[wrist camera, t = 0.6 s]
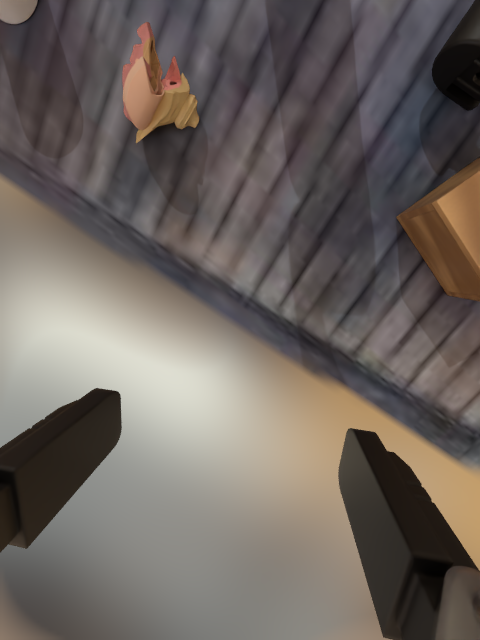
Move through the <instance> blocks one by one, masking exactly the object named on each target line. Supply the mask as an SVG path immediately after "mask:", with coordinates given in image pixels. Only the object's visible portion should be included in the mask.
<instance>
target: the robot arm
mask: <svg viewBox="0 0 480 640" xmlns="http://www.w3.org/2000/svg"><path fill="white" fill-rule="evenodd" d="M121 428H122V427H121V398H120V394H119V392H117V391H112V390H105V389H99V388H96V389H94V390H92V391H90V392H89V393H88V394H86V395H85V396H83V397H82V398H81V399H79V400H76V401H74V402H72V403H69V404H67V405H65V406H62V407H60V408H58V409H57V410H55V411H54V412H53V413H51V414H50V415H48V416H47V417H45V419H44V420H41V421H39V422H38V423H36V424H35V425H33V426H32V428H31V429H30V428H29V429H27V430H26V431H25V432H23V433H21V434H20V435H18V436H17V437H16V438H14V439H13V440H11V441H10V442H8V443H7V444H5V445H4V446H2V447H1V448H0V552H1V551H2V550H3V549H4V548H5V547H6V546H7V545H8V544H9V545H14V546H18V547H22V548H26V549H27V548H28V547H29V546H30V545H31V543H32V542H33V541H34V540H35V539H36V538H37V536H38V535H39V534H40V533H41V532H42V531H43V529H44V528H45V527H46V526H47V525H48V524H49V522H50V521H51V520H52V519H53V518H54V517H55V516H56V514H57V513H58V512H59V511H60V510H61V509H62V507H63V506H64V505H65V504H66V503H67V501H68V500H69V499H70V498H71V497H72V496H73V495H74V493H75V492H76V491H77V490H78V489H79V487H80V486H81V485H82V484H83V483H84V482H85V481H86V480H87V478H88V477H89V476H90V475H91V474H92V473H93V471H94V470H95V469H96V468H97V467H98V466H99V465H100V463H101V462H102V461H103V460H104V459H105V458H106V456H107V455H108V454H109V453H110V452H111V450H112V449H113V448H114V447H115V446H116V444H117V442H118V440H119V438H120V435H121ZM339 485H340V490H341V494H342V497H343V501H344V504H345V508H346V511H347V514H348V518H349V521H350V525H351V528H352V531H353V535H354V538H355V542H356V545H357V548H358V552H359V555H360V559H361V562H362V566H363V569H364V572H365V576H366V579H367V583H368V586H369V590H370V593H371V597H372V600H373V603H374V607H375V610H376V614H377V617H378V620H379V624H380V627H381V631H382V634H383V637H385V638H389V639H393V640H480V571H479V570H478V568H477V567H476V565H475V564H474V562H473V561H472V559H471V558H470V556H469V555H468V553H467V552H466V550H465V549H464V547H463V546H462V544H461V543H460V541H459V540H458V538H457V537H456V535H455V534H454V532H453V531H452V529H451V528H450V526H449V525H448V523H447V522H446V520H445V519H444V517H443V516H442V514H441V513H440V511H439V510H438V508H437V507H436V505H435V504H434V503H432V501H431V498H430V496H429V495H428V493H427V492H426V490H425V489H424V488H423V487H422V486H421V483H420V481H419V480H418V479H417V477H416V475H415V474H414V472H413V471H412V469H411V468H410V467H409V466H408V465H407V464H406V463H405V462H404V461H403V460H402V459H401V458H400V457H398V456H397V455H396V454H395V453H394V452H389V451H387V450H386V449H385V447H384V445H383V444H382V442H381V441H380V439H379V437H378V435H377V434H376V433H375V432H371V431H364V430H358V429H352V428H350V429H348V431H347V433H346V438H345V442H344V447H343V452H342V456H341V461H340V466H339Z"/></svg>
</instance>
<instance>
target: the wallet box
mask: <svg viewBox="0 0 480 640" xmlns="http://www.w3.org/2000/svg"><path fill="white" fill-rule="evenodd" d="M479 169H480V157H479V158H477V159H476V160H474V161H473V162H472V163H470V164H469V165H468V166H466V167H465V168H463V169H462V170H461V171H459V172H458V173H456V174H455V175H454V176H452V177H451V178H449V179H448V180H447V181H445V182H444V183H443V184H441V185H440V186H438V187H437V188H436V189H434V190H433V191H431V192H430V193H429V194H427V195H426V196H424V197H423V198H422V199H420V200H419V201H417V202H416V203H415V204H413V205H412V206H411V207H409V208H408V209H406V210H405V211H404V212H402V213H401V214H399V215H398V216H397V217H396V218H397V219H398V221H399V222H400V224H401V225H402V227H403V228H404V230H405V231H406V233H407V235H408V236H409V238H410V239H411V241H412V242H413V244H414V245H415V247H416V248H417V250H418V251H419V253H420V254H421V256H422V257H423V259H424V260H425V262H426V263H427V265H428V266H429V268H430V269H431V271H432V273H433V274H434V276H435V277H436V279H437V280H438V282H439V283H440V285H441V286H442V288H443V289H444V291H445V292H446V294H447V295H448V296H453V297H459V298H465V299H470V300H476V301H480V278H479V277H478V275H477V274H476V272H475V271H474V269H473V267H472V266H471V264H470V263H469V261H468V260H467V258H466V256H465V255H464V253H463V252H462V250H461V249H460V247H459V245H458V244H457V242H456V241H455V239H454V238H453V236H452V234H451V233H450V231H449V230H448V228H447V227H446V225H445V223H444V222H443V220H442V219H441V217H440V216H439V214H438V212H437V211H436V209H435V208H434V206H433V205H432V202H434V201H435V200H437V199H438V198H439V197H441V196H442V195H444V194H445V193H447V192H448V191H449V190H451V189H452V188H454V187H455V186H456V185H458V184H459V183H461V182H462V181H463V180H465V179H466V178H468V177H469V176H471V175H472V174H473V173H475V172H476V171H478V170H479Z"/></svg>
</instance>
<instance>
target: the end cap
mask: <svg viewBox="0 0 480 640" xmlns="http://www.w3.org/2000/svg"><path fill="white" fill-rule="evenodd" d="M432 77H433V80H434V83H435V84H436V86H437V87H438V89H439V90H440V91H441V92H442V93H443V94H444V95H446V96H447V97H449V98H450V99H452V100H453V101H455V102H456V103H457V104H459V105H460V106H462V107H463V108H465V109H466V110H472V109H473V108H475V107H476V106H477V105H478V104H479V103H480V0H475V1H474V3H473V4H472V6H471V7H470V9H469V10H468V12H467V13H466V14H465V16H464V17H463V19H462V20H461V22H460V23H459V25H458V26H457V28H456V29H455V30H454V32H453V33H452V35H451V36H450V38H449V39H448V41H447V42H446V43H445V45H444V46H443V48H442V49H441V51H440V52H439V54H438V55H437V57H436V58H435V61H434V63H433V68H432Z"/></svg>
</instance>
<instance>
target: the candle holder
mask: <svg viewBox="0 0 480 640" xmlns="http://www.w3.org/2000/svg"><path fill="white" fill-rule="evenodd" d="M37 3H38V0H0V20H2V21H4V22H6V23H9V24H19V23H22V22H24V21H26V20H27V19H28V18H29V17H30V16H31V15H32V14H33V12H34V10H35V8H36V6H37Z"/></svg>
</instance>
